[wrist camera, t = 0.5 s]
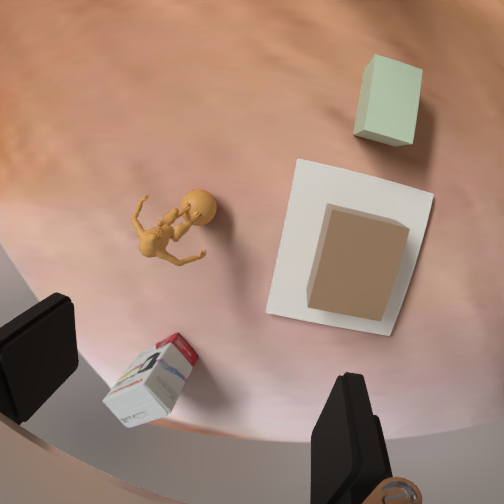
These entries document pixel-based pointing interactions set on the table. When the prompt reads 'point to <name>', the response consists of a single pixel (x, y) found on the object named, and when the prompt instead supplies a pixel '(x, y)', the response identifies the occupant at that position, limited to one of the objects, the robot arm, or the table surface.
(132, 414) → the ink box
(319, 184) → the plate
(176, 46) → the table surface
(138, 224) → the figurine
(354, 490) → the robot arm
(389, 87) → the green brick
